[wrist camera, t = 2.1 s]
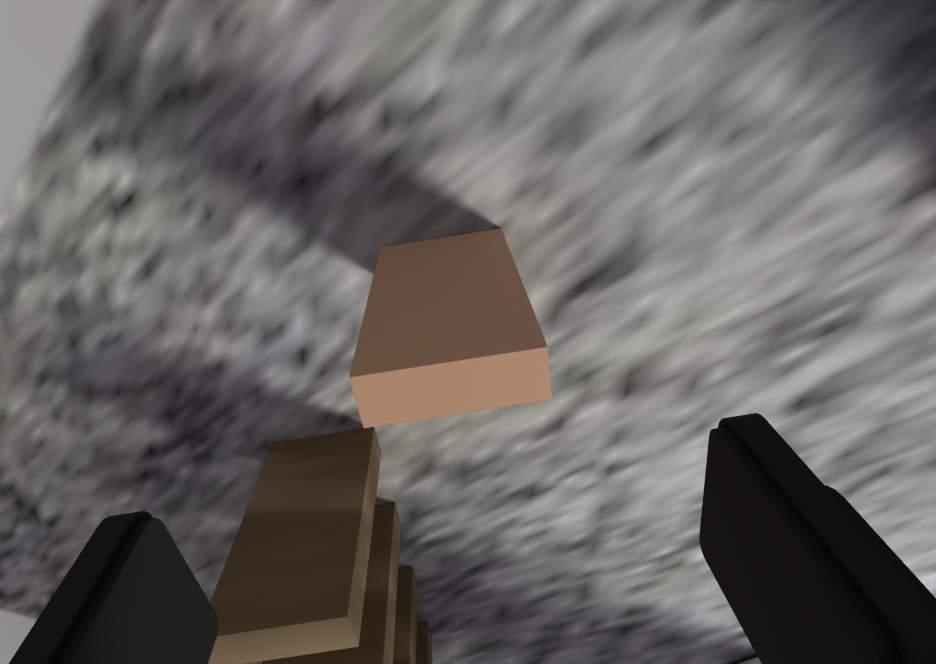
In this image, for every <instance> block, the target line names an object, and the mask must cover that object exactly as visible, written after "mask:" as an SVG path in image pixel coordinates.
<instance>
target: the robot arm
mask: <svg viewBox="0 0 936 664" xmlns="http://www.w3.org/2000/svg"><path fill="white" fill-rule="evenodd" d="M700 546H701V550H702V553H703V555H704V558H705V560H706V562H707V564H708V565H709V567H710V569H711V571H712V573H713V575H714V577H715V578H716V580H717V582H718V584H719V586H720V588H721V590H722V591H723V593H724V595H725V597H726V599H727V601H728V603H729V604H730V606H731V608H732V610H733V612H734V614H735V615H736V617H737V619H738V621H739V623H740V625H741V627H742V628H743V630H744V632H745V634H746V636H747V638H748V640H749V641H750V643H751V645H752V647H753V649H754V651H755V653H756V654H757V656H758V657H755V658H752V659H749V660H746V661H743V662H741V663H738V664H936V598H935V597H934V596H933V595H932V594H931V593H930V591H929V590H928V589H927V588H926V587H925V586H924V585H923V584H922V583H921V582H920V580H919V579H918V578H917V577H916V576H915V575H914V574H913V573H912V572H911V571H910V569H909V568H908V567H907V566H906V565H905V564H904V563H903V562H902V561H901V560H900V558H899V557H898V556H897V555H896V554H895V553H894V552H893V551H892V550H891V549H890V547H889V546H888V545H887V544H886V543H885V542H884V541H883V540H882V539H881V538H880V536H879V535H878V534H877V533H876V532H875V531H874V530H873V529H872V528H871V526H870V525H869V524H868V523H867V522H866V521H865V520H864V519H863V518H862V517H861V515H860V514H859V513H858V512H857V511H856V510H855V509H854V508H853V507H852V506H851V504H850V503H849V502H848V501H847V500H846V499H845V498H844V497H843V496H842V495H841V494H840V493H839V492H837V491H836V490H835V489H833V488H831V487H829V486H824V484H823V483H822V482H821V481H820V480H819V479H818V478H817V477H816V475H815V474H814V473H813V472H812V471H811V470H810V469H809V468H808V466H807V465H806V464H805V463H804V462H803V461H802V460H801V459H800V457H799V456H798V455H797V454H796V453H795V452H794V451H793V450H792V448H791V447H790V446H789V445H788V444H787V443H786V442H785V441H784V439H783V438H782V437H781V436H780V435H779V434H778V433H777V432H776V430H775V429H774V428H773V427H772V426H771V425H770V424H769V423H768V421H767V420H766V419H765V418H764V417H763V416H761V415H760V414H757V413H754V414H748V415H741V416H735V417H729V418H724V419H721V421H720V422H719V425H718V428H716V429H712V430H711V431H710V435H709V443H708V454H707V464H706V474H705V484H704V495H703V505H702V515H701V525H700ZM217 634H218V618H217V615H216V613H215V611H214V609H213V608H212V606H211V604H210V602H209V601H208V599H207V597H206V596H205V594H204V592H203V590H202V589H201V587H200V585H199V584H198V582H197V580H196V579H195V577H194V575H193V573H192V572H191V570H190V568H189V567H188V565H187V563H186V562H185V560H184V558H183V556H182V555H181V553H180V551H179V550H178V548H177V546H176V544H175V543H174V541H173V539H172V538H171V536H170V534H169V533H168V531H167V529H166V527H165V526H164V524H163V522H162V521H161V520H160V519H158V518H153V517H152V516H151V515H150V513H148V512H146V511H140V512H134V513H128V514H121V515H115V516H109V517H107V518H105V519H104V520H103V521H102V522H101V523H100V524H99V525H98V527H97V529H96V530H95V532H94V533H93V535H92V536H91V538H90V539H89V541H88V542H87V544H86V545H85V547H84V549H83V550H82V552H81V553H80V555H79V556H78V558H77V559H76V561H75V562H74V564H73V566H72V567H71V569H70V570H69V572H68V573H67V575H66V576H65V578H64V579H63V581H62V582H61V584H60V586H59V587H58V589H57V590H56V592H55V593H54V595H53V596H52V598H51V599H50V601H49V603H48V604H47V606H46V607H45V609H44V610H43V612H42V613H41V615H40V616H39V618H38V619H37V621H36V623H35V624H34V626H33V627H32V629H31V630H30V632H29V633H28V635H27V637H26V638H25V640H24V641H23V643H22V644H21V646H20V647H19V649H18V650H17V652H16V653H15V655H14V656H13V658H12V660H11V661H10V663H9V664H208V662H209V659H210V656H211V653H212V650H213V647H214V644H215V641H216V638H217Z"/></svg>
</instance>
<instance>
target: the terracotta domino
mask: <svg viewBox="0 0 936 664" xmlns="http://www.w3.org/2000/svg"><path fill="white" fill-rule="evenodd" d="M349 379H350V383H351V386H352V389H353V393H354V396H355V400H356V403H357V407H358V410H359V414H360V417H361V421H362V424H363V428H369V427H376V426H382V425H389V424H395V423H402V422H408V421H415V420H422V419H428V418H435V417H441V416H448V415H454V414H461V413H467V412H474V411H480V410H487V409H493V408H500V407H507V406H513V405H520V404H526V403H533V402H539V401H546V400H552V394H551V382H550V370H549V358H548V347H547V344H546V342H545V339H544V337H543V334H542V331H541V329H540V326H539V324H538V321H537V319H536V316H535V314H534V311H533V309H532V306H531V303H530V301H529V298H528V296H527V293H526V291H525V288H524V286H523V283H522V281H521V278H520V275H519V273H518V270H517V268H516V265H515V263H514V260H513V258H512V255H511V253H510V250H509V247H508V245H507V242H506V240H505V237H504V235H503V232H502V230H501V228H499V229H492V230H486V231H479V232H473V233H467V234H460V235H454V236H447V237H441V238H435V239H428V240H422V241H415V242H409V243H403V244H396V245H390V246H383V247H380V251H379V255H378V259H377V263H376V267H375V271H374V276H373V280H372V284H371V288H370V292H369V296H368V301H367V305H366V309H365V313H364V317H363V321H362V326H361V330H360V334H359V338H358V342H357V346H356V351H355V355H354V359H353V363H352V367H351V371H350V376H349Z"/></svg>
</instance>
